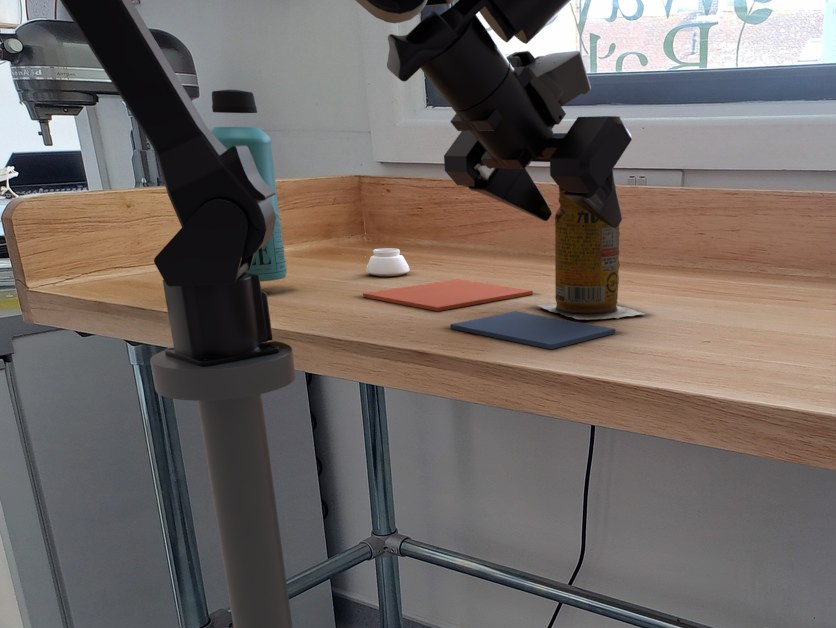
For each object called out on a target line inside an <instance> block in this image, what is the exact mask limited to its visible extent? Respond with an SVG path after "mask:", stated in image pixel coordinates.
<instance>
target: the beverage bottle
mask: <svg viewBox="0 0 836 628" xmlns="http://www.w3.org/2000/svg"><path fill="white" fill-rule="evenodd" d="M211 103H212V104H211V109H212V113H216V114H217V113H218V114H219V113H221V114H222V113H223V114H258V108H257V105H256V101H255V95H254V93H253V92H252V91H246V90H242V89H220V90H213V91H212V92H211ZM210 131H211V132H212V134H213V135H214V136H215V137H216V138H217V139H218V140H219V141H220V142H221V143H222V144H223V145H224V146H225V147H226V149H227V150H228V149H229V148H231V147H232V146H242V145H246V146H247V147H248V148H249V151H250V153H251V155H252V157H253V160H254V162H255V165H256V168H257V170H258V172H259V174H260V176H261V177H262V179H263V180H264V181H265V183H266V184H267V185H268V186H269V187H271V188H272V189H273V190H274V191H275V192H276V193H275V195H273V196H271V197H269V199H270V201H271V202H272V205H273V207H274V210H275V216H276V221H275V226H274V230H273V234H272V235H271V237H270V238H269V240H268V241H267V243H266V244H265V245H263V246H262V247H261V248H260V249H259V250H258V251H256V252H255V253H254V257H253V261H252V265H251V268H250V269H249V270H246V271H245V272H247V273H252V274H257V275H259V278H260V283H261V282H262V283H263V282H271V281H272V282H273V281H277V280H282V279H285V278H286V277H287V263H286V262H287V261H286V255H285V253H286V252H285V247H284V244H285V243H284V239H283V235H284V233H283V231H282V227H283V226H282V223H281V221H282V219H281V218H280V211H279V203H278V194H277V193H278V192H277V185H276V177H275V168H274V160H273V158H274V157H273V151H272V150H273V149H272V138H271V137H270V136H269V135H268V134H267V133H266V132H265V131H264V130H262V129H261V128H260V127H254V126H214V127H213V128H211V130H210Z"/></svg>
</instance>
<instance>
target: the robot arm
mask: <svg viewBox="0 0 836 628" xmlns="http://www.w3.org/2000/svg"><path fill="white" fill-rule="evenodd" d="M59 1H60V3H61V4H62V6H63V7H64V9H65V11H66V13H68V15H69V17H70V18H71V20H72V21H73V23H74V25H75V26H76V28H77V29H78V31H79V32H80V35H81V36H82V37H83V39H84V40H85V42H86V44H87V45H88V47H89V49H90V50H91V52H92V54H93V55H94V56H95V58H96V59H97V61H98V63H99V65H100V66H101V68H102V69H103V71H104V73H105V74H106V75H107V77H108V79H109V81H110V82H111V83H112V85H113V86H114V88H115V91H116V92H117V93H118V95H119V96H120V98H121V100H122V101H123V102H124V104H125V105H126V108H127V109H128V110H129V112H130V114H131V116H132V117H133V118H134V120H135V122H136V124H137V125H138V126H139V128H140V129H141V131H142V132H143V134H144V136H145V137H146V139H147V140H148V142H149V144H150V145H151V147H152V149H153V151H154V153H155V157H156V158H157V162H158V166H159V169H160V172H161V176H162V179H163V183H164V186H165V190H166V193H167V196H168V198H169V201H170V204H171V205H172V208H173V210H174V213H175V215H176V217H177V220H178V222H179V224H180V227H181V228H180V229H179V230H178V231H177V232H176V233H175V234H174V236H173V237H171V239H170V240H169V241H168V243H166V245H165V246H164V247H163V248H162V249H161V250H160V251H159V252H158V253H157V254H156V255H155V257H154V258H153V263H154V265H155V267H156V268H157V270H158V272H159V274H160V276H161V278H162V285H163V292H164V297H165V304H166V309H167V316H168V320H169V327H170V333H171V339H172V344H173V345H172V347H168V348H165V349H164V350H165V354H166V355H167V356H170V357H173V358H176V359H179V360H182V361H185V362H188V363H191V364H194V365H197V366H200V367H208V366H214V365H219V364H224V363H230V362H235V361H240V360H245V359H250V358H256V357H261V356H266V355H271V354H276V353H279V347H278V346H274V345H270V344H268V343H271V342H272V341H274V340H273V332H272V323H271V314H270V308H269V300H268V294H267V293H266V292H265V291H263V290H262V286H261V282H260V278H259V275H257V274H252V273H247V272H245V271H246V270H249V269H250V268H251V265H252V261H253V257H254V253H255V252H256V251H258V250H259V249H260V248H261V247H262V246H263V245H265V244H266V243H267V241H268V240H269V238H270V237H271V235H272V234H273V230H274V226H275V221H276V216H275V210H274V207H273V205H272V202H271V201H270V199H269V197H271V196H273V195H275V193H277V191H276V192H275V191H274V190H273V189H272V188H271V187H269V186H268V185H267V184H266V183H265V181H264V180H263V179H262V177H261V176H260V174H259V172H258V170H257V168H256V165H255V162H254V160H253V157H252V155H251V153H250V151H249V148H248V147H247V146H246V145H242V146H232V147H231V148H229V149H228V150H227V149H226V147H225V146H224V145H223V144H222V143H221V142H220V141H219V140H218V139H217V138H216V137H215V136H214V135H213V134H212V132H211V130H210V128H209V127H208V126H207V125H206V122H205V121H204V119H203V118H202V116H201V114H200V113H199V111H198V109H197V107H196V106H195V104H194V103H193V101H192V99H191V98H190V96H189V94H188V92H187V91H186V90H185V88H184V86H183V84H182V83H181V81H180V79H179V77H178V76H177V74H176V73H175V71H174V69H173V68H172V66H171V64H170V62H169V61H168V59H167V57H166V56H165V54H164V53H163V51H162V49H161V47H160V46H159V44H158V42H157V41H156V39H155V38H154V36H153V34H152V33H151V31H150V29H149V27H148V26H147V24H146V22H145V21H144V19H143V18H142V15H141V14H140V12H139V11H138V9H137V8H136V6H135V4H134V2H133V1H132V0H59ZM454 1H455V0H355V2H357V4H359V5H360V6H361V7H362V8H364V9H365V10H366V11H367V12H368V13H369V14H370V15H372V16H373V17H375V18H376V19H378V20H381V21H383V22H385V23H390V24H400V23H404V22H407V21H411V20H413V19H414V18H415V17H417V16H418V15H420V13H421V12H422V11H423V10H424V8H425V7H434V6H444V5H450V4H452V3H454ZM573 1H574V0H457V1H456V2H455V3H454V4H453V5H452V6H450V7H449V8H448V9H447V10H445V11H444V12H442V13H441V14H438V13H437V12H436V11H432V10H431V11H430V12H429V13H428V14H427V15H426V16H425V17H424V18H423V19H422V20H420V21H419V23H418V24H417V25H415V26H414V27H413V28H412V29H411V30H410V31H409V32H408V33H407V34H404V35H396V34H394V33H393V34H392V33H390V34H388V36H387V41H388V55H387V61H386V68H387V70H388V71H389V72H390V73H392V74H393V75H394V76H395V77H396V78H397V79H398V80H400V81H401V82H407V81H409V79H410V78H411V77H412V76H413V75H415V74H416V73H417V72H418V71H419V70H421V71H422V72H423V74H424V75H425V76H426V77H427V79H428V80H429V81H430V82H431V83H432V85H433V86H434V87H435V89H436V90H437V91H438V92H439V94H440V95H441V96H442V97H443V99H444V100H445V101H446V102H447V103H448V105H449V106H450V107H451V109H452V110H453V111H454V113H455V114H454V115H453V117H452V118H451V120H450V122H449V123H450V124H451V125H452V126H453V127H454V128H455V129H456V131H457V132H460V133H458V135H457V137H456V138H455V140H454V141H453V143H452V144H451V145H450V147H449V148H448V149H447V151H446V152H445V154H444V155H443V163H444V172H445V173H446V175H448V176H449V178H450V179H451V180H452V181H453V182H454V183H455V185H456V186H459V187H460V186H463V187H467V188H468V189H469V190H470V191H472V192H477V193H479V194H482V195H484V196H486V197H489V198H490V199H494V200H496V201H497V202H500V203H503V204H505V205H508V206H509V207H512V208H515V209H516V210H519V211H521V212H523V213H525V214H527V215H530V216H532V217H534V218H536V219H538V220H540V221H543V222H548V221H549V219H550V218H551V217H552V214H553V213H552V211H553V210H552V209H551V207H550V206H549V204H548V202H547V200H546V198H545V197H544V195H543V194H542V192H541V191H540V189H539V187H538V186H537V184H536V183H535V181H534V180H533V178H532V176H531V175H530V173H529V171H528V170H527V169H526V168H528V167H529V166H530V164H531V163H549V175H550V177H551V179H552V180H553V181H554V183H555V184H556V185H557V187H559V186H560V187H562V188H563V189H565V190H566V191H565V192H564V196H566V197H567V198H569V199H570V200H572V201H573V202H574V203H576V204H577V205H579V206H581V207H582V208H584V209H585V210H586V211H588V212H589V213H591V214H592V215H594V216H595V217H597V218H598V219H600V220H601V221H603V222H604V223H606V224H608V225H609V226H611V227H613V228H617V227H618V225H619V226H620V224H621V222H622V220H623V216H622V212H621V206H620V201H619V198H618V197H619V196H618V194H617V187H616V188H615V186H616V183H615V175H614V168H615V166H616V165H617V163H618V162H619V161H620V158H621V157H622V156H623V153H624V152H625V151H626V150H627V148H628V146H629V145H630V143H631V142H632V140H633V137H632V135H631V133H630V131H629V130H628V128H627V126H626V125H625V123H624V121H623V120H622V118H621V117H620V116H618V115H617V116H616V115H599V116H598V115H597V116H596V115H595V116H594V115H593V116H577V117H576V119H575V121H574V122H573V124H572V125H571V126H570V127H569V129H568V131H567V132H555V131H554V130H553V128H554V127H555V126H558V125H560V124H561V123H562V121H563V120H564V118H565V117H566V115H567V113H566V112H565V110H564V108H563V107H564V106H565V105H566V104H568V103H570V102H572V101H573V100H575V99H576V98H578V97H579V96H580V95H587V94H588V93H589V92H591V90H592V86H591V83H590V80H589V76H588V73H587V70H586V67H585V63H584V60H583V57H582V53H581V51H580V50H572V51H563V52H562V51H561V52H553V53H548V54H545V55H538V56H536V57H535V56H534V55H533V54H532V53H531V52H530V50H522V51H515V52H513V53H511V54H509V55H508V56H505V54H504V53H503V52H502V50H501V48H500V46H498V44H497V43H496V41H495V40H494V39H493V37H492V36H491V34H490V33H489V31H488V30H487V28H486V27H485V25H484V24H483V23H482V22H481V19H480V18H479V17H478V13H479V14H480V15H481V16H482V18H483V20H484V21H485V22H486V24H488V25H489V28H491V30H492V31H493V32H494V33H495V34H496V35H497V36H498V38H500V39H501V40H502V41H503V42H505V43H508V42H510V41H511V40H512V39H513V38H514V37H515V38H516V39H517V40H519V42H521V43H522V44H525V45H528V43H530V41H532V40H533V39H534V38H535V37H536V36H537V35H538V34H539V33H540V32H541V31H542V30H543V29H544V28H545V27H546V26H547V25H548V24H550V22H551V21H553V20H554V18H556V17H557V16H558V15H559V14H560V13H561V12H562V11H563V10H564V9H565V8H566V7H568V5H570V4H571V3H572V2H573Z"/></svg>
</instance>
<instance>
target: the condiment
mask: <svg viewBox="0 0 836 628" xmlns="http://www.w3.org/2000/svg"><path fill="white" fill-rule="evenodd" d="M615 188H616V189H617V186H616V185H615ZM565 191H566V190H565V189H563V188H562V187H560V186H558V194H559V197H558V199H557V200H558V203H559V208H558V209H557V211H556V213H555V215H554V230H555V231H554V252H555V253H554V260H555V261H554V263H555V264H554V268H555V269H554V270H555V271H554V272H555V273H554V276H555V278H554V279H555V280H554V281H555V282H554V283H555V296H554V298H555V302H556V303H549V304H548V303H547V304H546V303H545V304H537V305H536V306H537V307H539V308H542V309H544V310H547V312H548V311H549V312H552V313H555V314H561V315H562V316H565V317H567V318H573V319H575V320H585V321H586V320H587V321H588V320H607V319H614V318H615V319H620V318H623V317H635V316H639V315H645V313H644V312H642V311H637V310H636V309H631V308H629V307H624V306H619V305H618V299H619V298H618V297H619V284H620V277H619V276H620V275H619V273H620V272H619V270H620V265H621V264H620V259H619V257H620V235H621V232H620V224H619V225H618V227H617V228H613V227H611V226H609V225H608V224H606V223H604V222H603V221H601V220H600V219H598V218H597V217H595V216H594V215H592V214H591V213H589V212H588V211H586V210H585V209H584V208H582V207H581V206H579V205H577V204H576V203H574V202H573V201H572V200H570V199H569V198H567V197H566V196H564V192H565Z"/></svg>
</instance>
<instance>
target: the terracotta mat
mask: <svg viewBox="0 0 836 628" xmlns="http://www.w3.org/2000/svg"><path fill="white" fill-rule="evenodd" d="M533 294H534V290H532V289H524V288H519V287H511V286H505V285H500V284H492V283H487V282H479V281H472V280H467V279H459V278H456V279H449V280H443V281H437V282H430V283H423V284H416V285H410V286H409V285H408V286H402V287H396V288H388V289H383V290H376V291H368V292H363V293H362V297H363V298H367V299H372V300H377V301H382V302H387V303H393V304H398V305H404V306H408V307H412V308H413V307H414V308H417V309H418V308H419V309H424V310H429V311H434V312H440V311H441V312H442V311H447V310H453V309H458V308H464V307H470V306H476V305H480V304H485V303H492V302H497V301H503V300H509V299H513V298H514V299H515V298H520V297H526V296H531V295H533Z"/></svg>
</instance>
